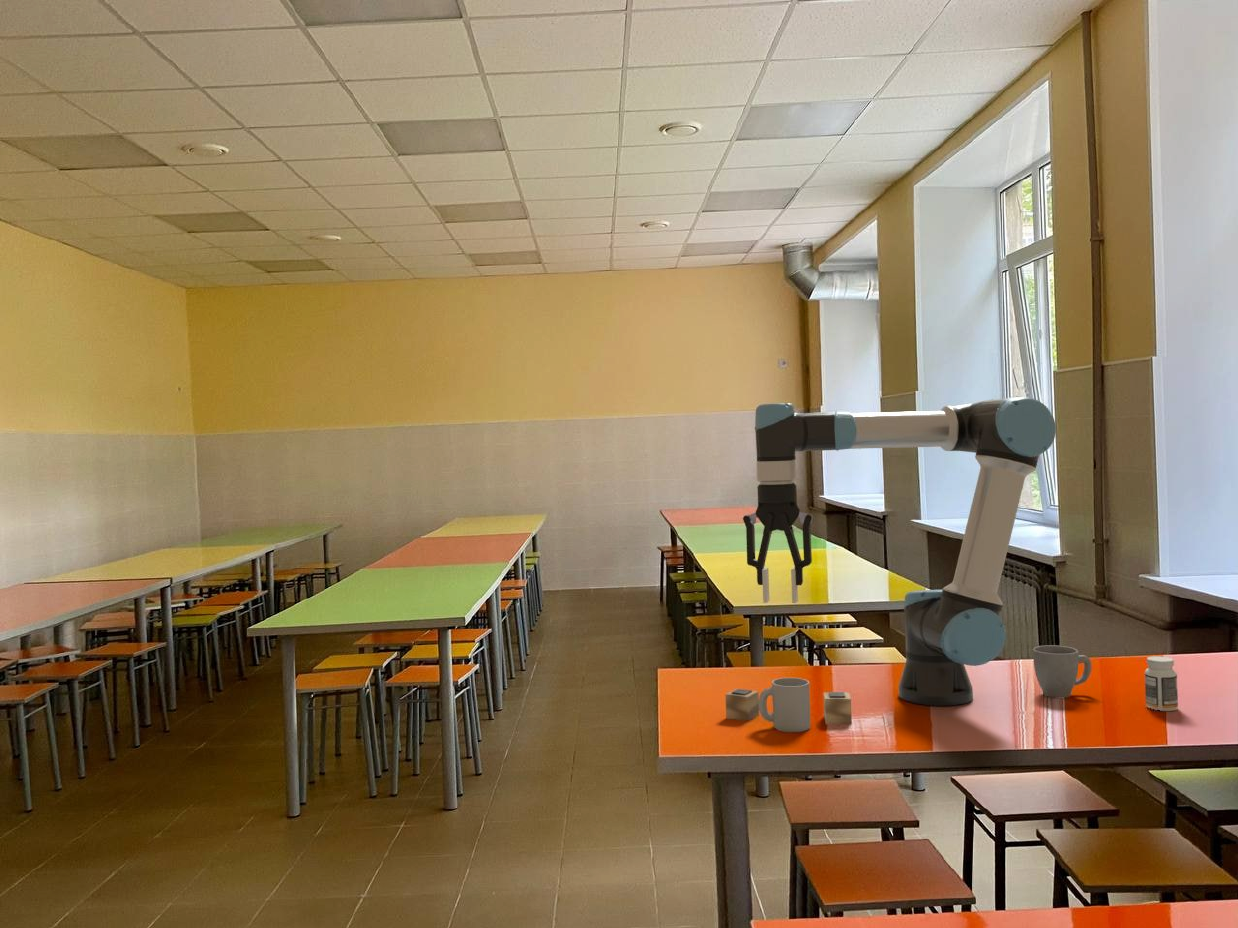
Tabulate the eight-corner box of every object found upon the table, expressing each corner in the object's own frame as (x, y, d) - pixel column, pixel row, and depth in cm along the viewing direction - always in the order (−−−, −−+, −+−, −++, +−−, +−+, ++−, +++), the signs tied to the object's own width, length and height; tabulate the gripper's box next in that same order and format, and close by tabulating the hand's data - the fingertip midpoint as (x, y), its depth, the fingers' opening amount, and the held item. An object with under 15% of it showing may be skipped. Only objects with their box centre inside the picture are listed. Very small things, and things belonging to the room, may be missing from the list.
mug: (1046, 701, 205) (1045, 655, 205) (1026, 690, 214) (1025, 646, 214) (1102, 698, 206) (1101, 652, 206) (1080, 687, 215) (1079, 643, 214)
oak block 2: (849, 717, 199) (848, 691, 199) (851, 724, 194) (850, 697, 194) (824, 717, 200) (823, 691, 200) (825, 724, 195) (825, 697, 195)
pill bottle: (1176, 705, 198) (1175, 656, 198) (1179, 713, 193) (1178, 662, 193) (1144, 703, 201) (1143, 655, 201) (1146, 710, 196) (1145, 661, 195)
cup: (813, 732, 190) (811, 686, 189) (760, 733, 190) (759, 687, 190) (808, 721, 197) (806, 677, 197) (757, 722, 197) (756, 678, 197)
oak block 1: (759, 715, 203) (758, 689, 203) (748, 721, 199) (747, 695, 199) (737, 712, 206) (736, 687, 205) (726, 718, 201) (725, 692, 201)
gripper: (825, 480, 193) (829, 599, 194) (735, 482, 199) (738, 598, 199) (821, 482, 186) (825, 605, 187) (727, 484, 192) (731, 604, 192)
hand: (780, 601), depth 193 cm, fingers open, 5 cm apart
